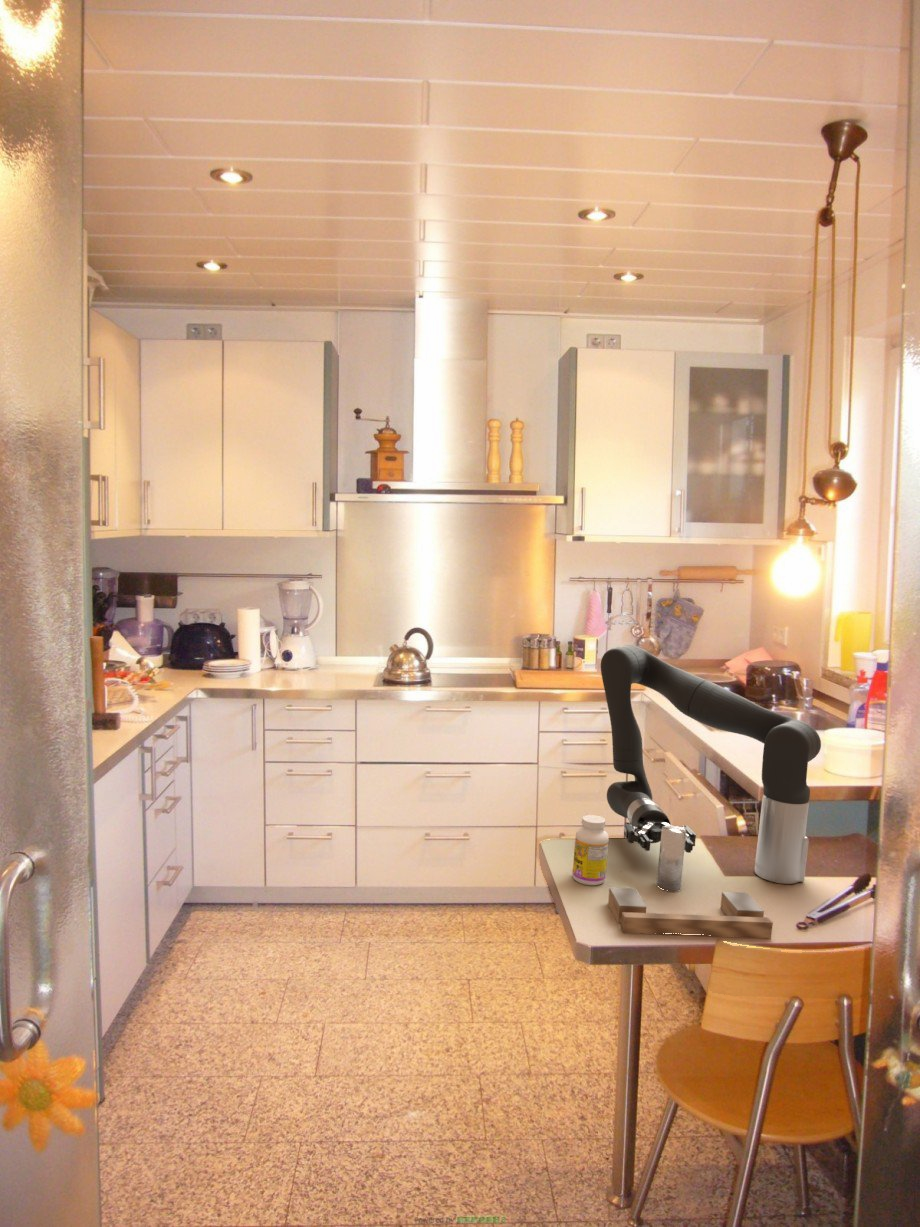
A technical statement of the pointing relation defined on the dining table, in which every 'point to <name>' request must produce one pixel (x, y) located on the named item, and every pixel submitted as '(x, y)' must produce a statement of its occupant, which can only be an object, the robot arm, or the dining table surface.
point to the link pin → (671, 858)
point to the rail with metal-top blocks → (691, 917)
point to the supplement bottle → (591, 851)
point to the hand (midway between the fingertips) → (669, 847)
